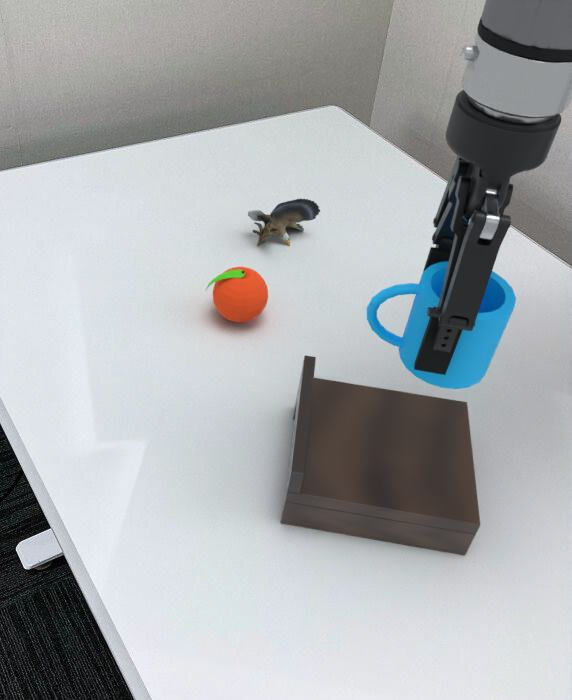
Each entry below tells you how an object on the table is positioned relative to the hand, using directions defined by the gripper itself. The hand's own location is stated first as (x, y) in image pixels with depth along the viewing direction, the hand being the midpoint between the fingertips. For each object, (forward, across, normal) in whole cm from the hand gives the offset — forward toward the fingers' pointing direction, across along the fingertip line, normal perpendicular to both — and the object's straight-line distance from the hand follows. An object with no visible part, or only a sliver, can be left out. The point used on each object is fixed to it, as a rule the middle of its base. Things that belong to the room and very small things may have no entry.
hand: (428, 336), depth 71 cm
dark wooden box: (+18, +2, -1) cm, 18 cm away
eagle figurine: (+18, -38, -16) cm, 45 cm away
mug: (+2, 0, 0) cm, 2 cm away
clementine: (+18, -19, -20) cm, 33 cm away
